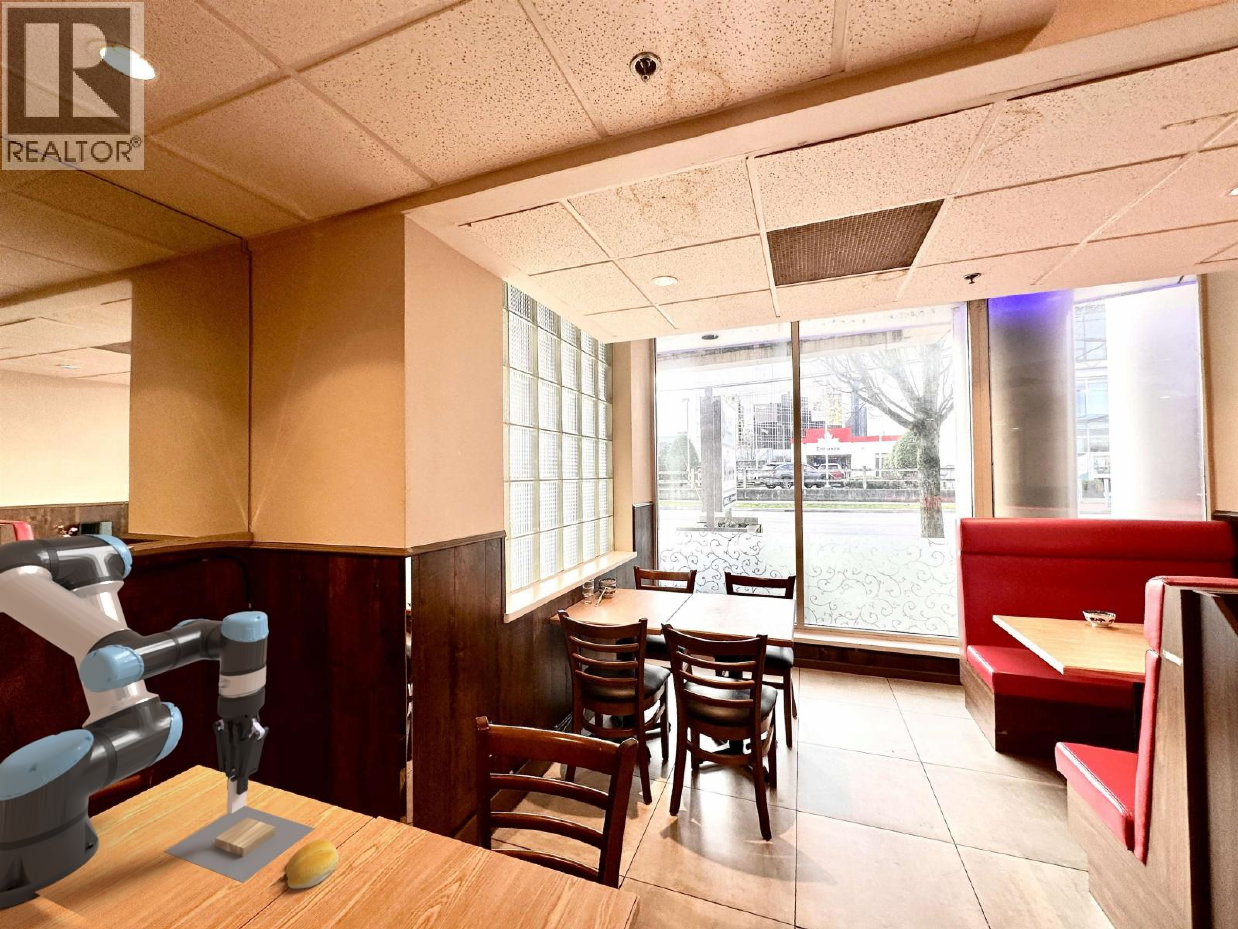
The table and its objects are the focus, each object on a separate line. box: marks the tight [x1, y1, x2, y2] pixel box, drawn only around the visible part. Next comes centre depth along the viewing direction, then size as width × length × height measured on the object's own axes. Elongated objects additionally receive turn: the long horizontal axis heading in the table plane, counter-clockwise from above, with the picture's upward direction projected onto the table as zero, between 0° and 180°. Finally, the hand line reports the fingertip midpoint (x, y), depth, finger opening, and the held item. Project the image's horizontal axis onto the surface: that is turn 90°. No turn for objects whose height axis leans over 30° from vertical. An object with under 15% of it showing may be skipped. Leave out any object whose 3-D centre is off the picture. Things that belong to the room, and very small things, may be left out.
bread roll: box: [285, 839, 340, 890], centre depth 88 cm, size 8×9×4 cm
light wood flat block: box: [215, 818, 275, 857], centre depth 94 cm, size 2×6×8 cm
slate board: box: [163, 805, 316, 883], centre depth 94 cm, size 22×14×1 cm, turn 72°
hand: (236, 808), depth 95 cm, fingers closed
